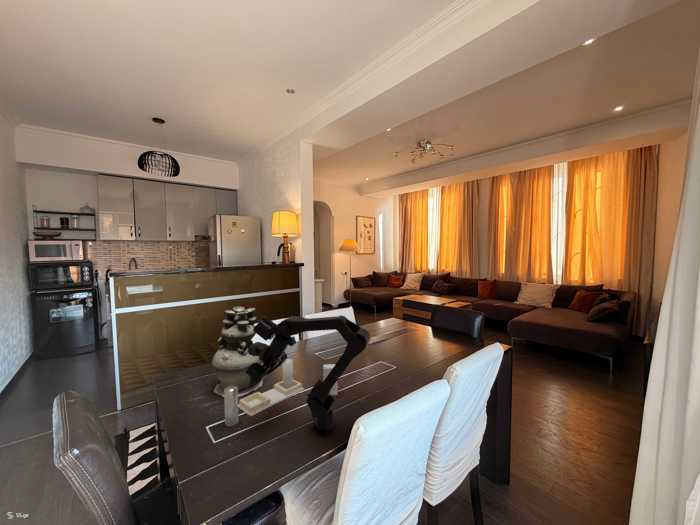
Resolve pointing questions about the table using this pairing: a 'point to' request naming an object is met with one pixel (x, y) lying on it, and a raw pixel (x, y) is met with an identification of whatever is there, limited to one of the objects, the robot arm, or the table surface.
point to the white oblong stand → (272, 392)
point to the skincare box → (326, 371)
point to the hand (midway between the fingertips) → (257, 381)
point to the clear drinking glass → (231, 405)
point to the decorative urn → (235, 352)
